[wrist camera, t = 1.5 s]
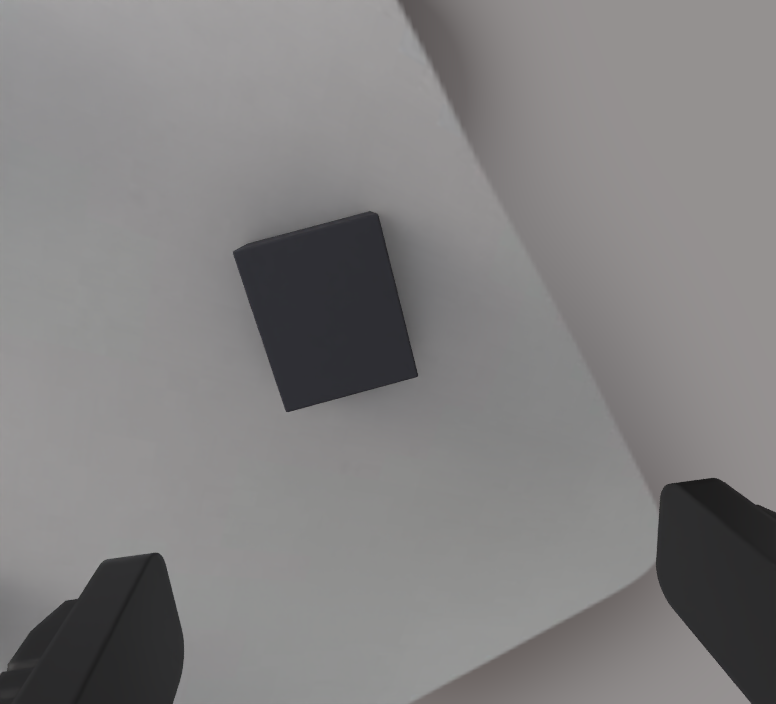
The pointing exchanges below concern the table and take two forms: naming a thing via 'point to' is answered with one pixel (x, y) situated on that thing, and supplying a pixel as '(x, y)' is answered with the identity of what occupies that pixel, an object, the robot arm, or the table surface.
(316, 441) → the table surface
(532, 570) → the table surface
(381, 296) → the small black box
